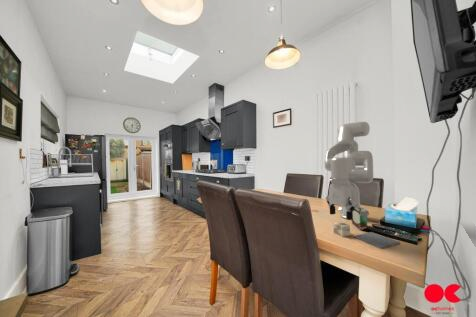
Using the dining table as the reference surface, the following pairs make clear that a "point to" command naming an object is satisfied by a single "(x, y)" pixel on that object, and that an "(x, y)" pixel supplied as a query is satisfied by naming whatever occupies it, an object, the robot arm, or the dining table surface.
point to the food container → (360, 218)
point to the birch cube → (341, 229)
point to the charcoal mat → (377, 240)
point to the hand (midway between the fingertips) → (340, 216)
